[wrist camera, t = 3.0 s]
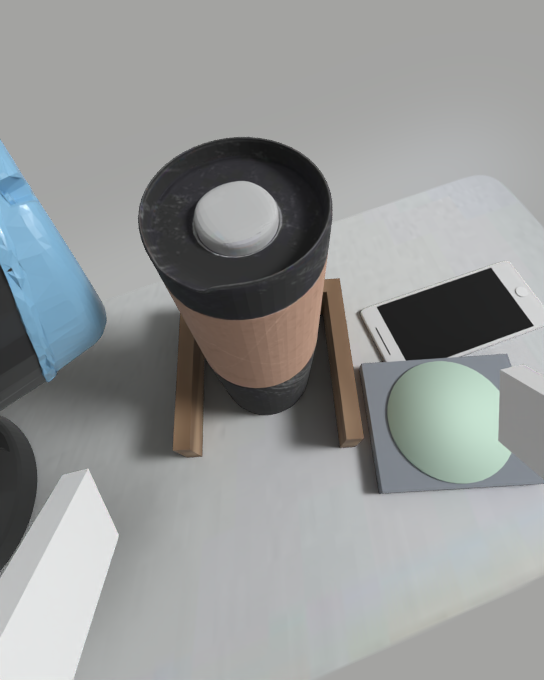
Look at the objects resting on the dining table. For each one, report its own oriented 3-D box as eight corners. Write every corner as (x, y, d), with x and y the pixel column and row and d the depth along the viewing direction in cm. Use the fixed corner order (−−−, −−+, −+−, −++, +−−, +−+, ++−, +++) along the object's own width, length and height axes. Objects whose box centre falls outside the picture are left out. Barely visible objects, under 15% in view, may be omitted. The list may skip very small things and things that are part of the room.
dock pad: (379, 493, 28) (383, 492, 27) (359, 368, 32) (361, 362, 31) (540, 483, 28) (552, 482, 26) (499, 359, 32) (508, 352, 30)
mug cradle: (187, 457, 30) (172, 450, 26) (192, 312, 35) (181, 290, 31) (355, 446, 29) (364, 438, 26) (334, 302, 35) (339, 278, 31)
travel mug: (296, 325, 34) (301, 116, 16) (322, 404, 31) (367, 257, 13) (215, 347, 33) (123, 157, 15) (233, 429, 30) (146, 314, 12)
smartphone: (550, 325, 33) (556, 320, 32) (393, 382, 32) (396, 379, 31) (503, 264, 36) (508, 258, 35) (357, 314, 35) (359, 309, 34)
